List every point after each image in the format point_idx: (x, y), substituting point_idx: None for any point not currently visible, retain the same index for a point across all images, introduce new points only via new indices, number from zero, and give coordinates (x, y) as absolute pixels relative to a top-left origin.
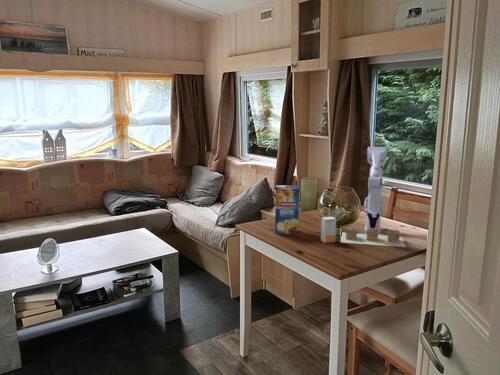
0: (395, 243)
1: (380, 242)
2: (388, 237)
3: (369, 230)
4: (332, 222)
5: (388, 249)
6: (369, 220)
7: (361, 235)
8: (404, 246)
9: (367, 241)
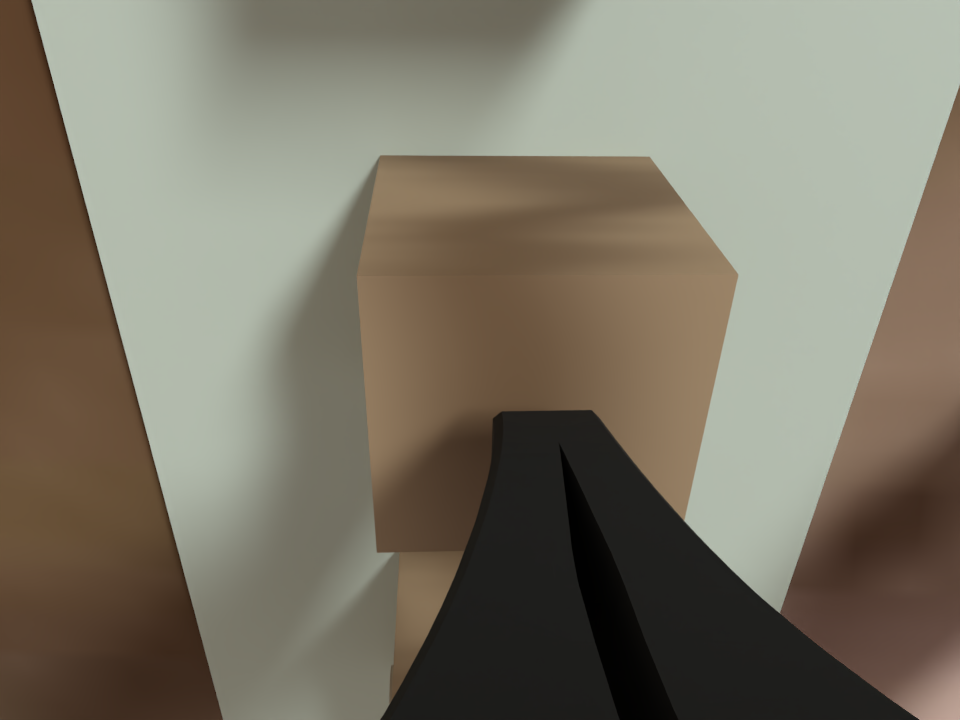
0: (352, 632)
1: (329, 431)
2: (396, 621)
3: (412, 343)
4: None
5: (12, 526)
6: (429, 638)
7: (819, 19)
8: (241, 718)
9: (304, 170)
